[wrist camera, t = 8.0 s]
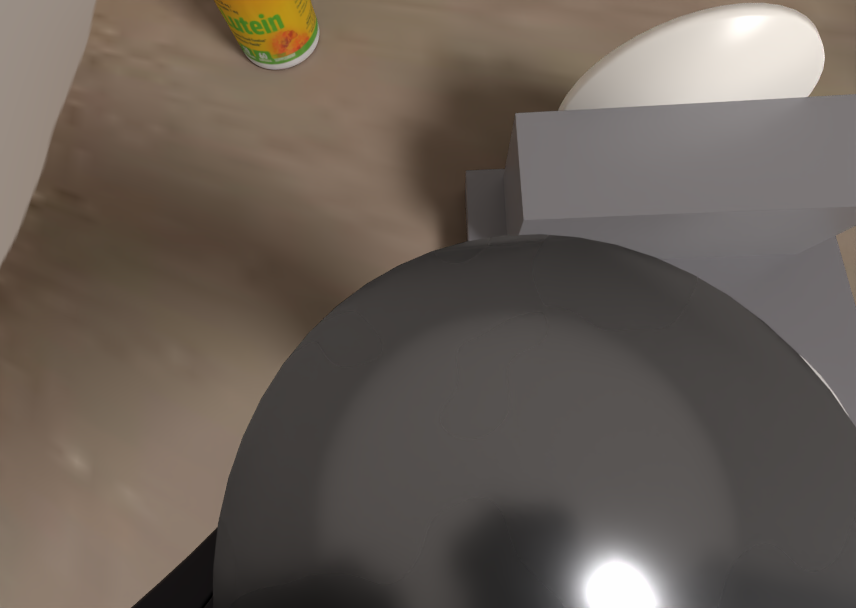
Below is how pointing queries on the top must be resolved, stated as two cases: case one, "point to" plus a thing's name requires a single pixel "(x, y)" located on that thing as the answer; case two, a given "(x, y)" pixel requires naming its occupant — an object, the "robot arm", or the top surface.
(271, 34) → the supplement bottle
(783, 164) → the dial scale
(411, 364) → the ball
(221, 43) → the top surface
